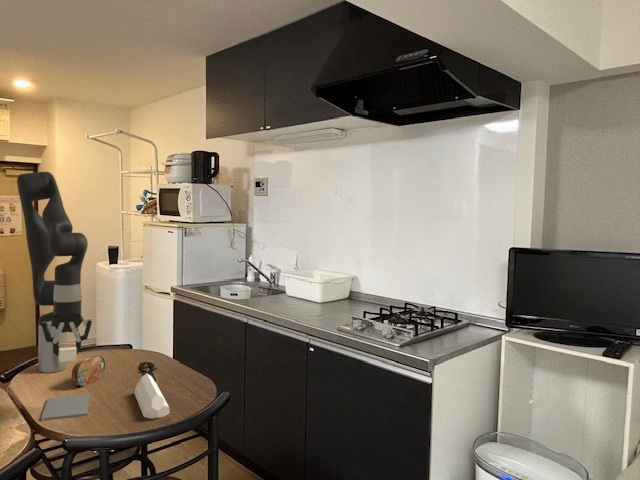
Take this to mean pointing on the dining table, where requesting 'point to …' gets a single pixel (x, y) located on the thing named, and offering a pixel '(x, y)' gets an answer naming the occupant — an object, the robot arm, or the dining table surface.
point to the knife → (151, 371)
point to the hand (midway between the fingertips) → (67, 354)
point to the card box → (67, 352)
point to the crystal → (150, 398)
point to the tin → (88, 370)
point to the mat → (66, 407)
